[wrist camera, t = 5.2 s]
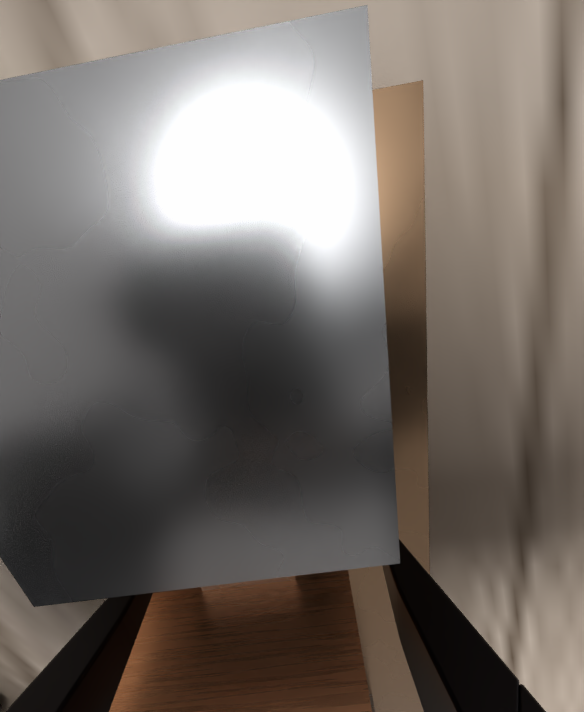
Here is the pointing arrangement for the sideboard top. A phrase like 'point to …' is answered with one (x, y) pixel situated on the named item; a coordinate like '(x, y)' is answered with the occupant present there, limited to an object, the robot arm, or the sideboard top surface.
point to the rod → (249, 649)
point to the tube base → (216, 324)
